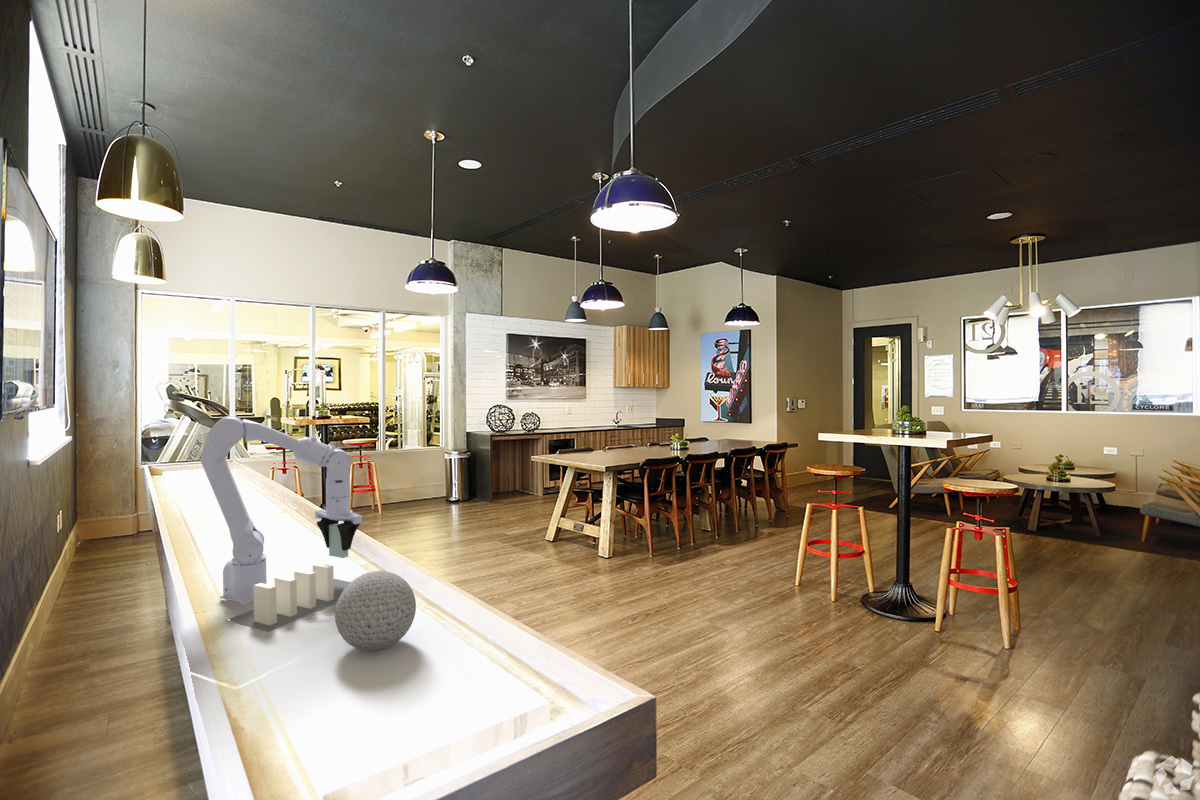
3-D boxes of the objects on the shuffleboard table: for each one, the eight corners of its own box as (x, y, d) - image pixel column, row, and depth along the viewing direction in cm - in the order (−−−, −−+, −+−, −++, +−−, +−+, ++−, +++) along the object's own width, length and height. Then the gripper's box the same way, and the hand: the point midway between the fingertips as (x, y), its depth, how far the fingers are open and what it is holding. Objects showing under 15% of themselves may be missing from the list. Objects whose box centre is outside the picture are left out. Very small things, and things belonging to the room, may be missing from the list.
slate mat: (224, 621, 129) (224, 619, 129) (333, 580, 156) (333, 578, 156) (268, 633, 124) (268, 631, 124) (373, 588, 150) (373, 586, 150)
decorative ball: (338, 672, 108) (337, 591, 107) (333, 639, 121) (332, 567, 120) (422, 654, 115) (422, 578, 114) (409, 625, 128) (408, 557, 127)
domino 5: (343, 558, 152) (342, 527, 151) (329, 555, 154) (328, 525, 153) (348, 556, 153) (347, 525, 153) (334, 553, 155) (333, 523, 155)
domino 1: (269, 625, 127) (269, 588, 126) (254, 621, 129) (253, 585, 128) (276, 622, 128) (276, 586, 128) (261, 618, 130) (260, 582, 130)
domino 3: (310, 608, 136) (309, 574, 135) (294, 605, 138) (294, 571, 137) (316, 606, 137) (315, 572, 137) (300, 602, 139) (300, 569, 139)
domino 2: (290, 616, 131) (290, 581, 131) (275, 613, 133) (274, 578, 133) (297, 614, 133) (296, 579, 132) (281, 610, 135) (281, 575, 134)
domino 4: (328, 601, 140) (327, 568, 140) (313, 597, 142) (312, 565, 142) (333, 599, 142) (333, 566, 141) (318, 595, 144) (318, 563, 143)
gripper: (371, 495, 153) (371, 547, 154) (330, 491, 159) (331, 540, 160) (349, 501, 147) (349, 555, 147) (308, 495, 153) (308, 547, 153)
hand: (338, 548), depth 153 cm, fingers closed on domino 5, 5 cm apart
